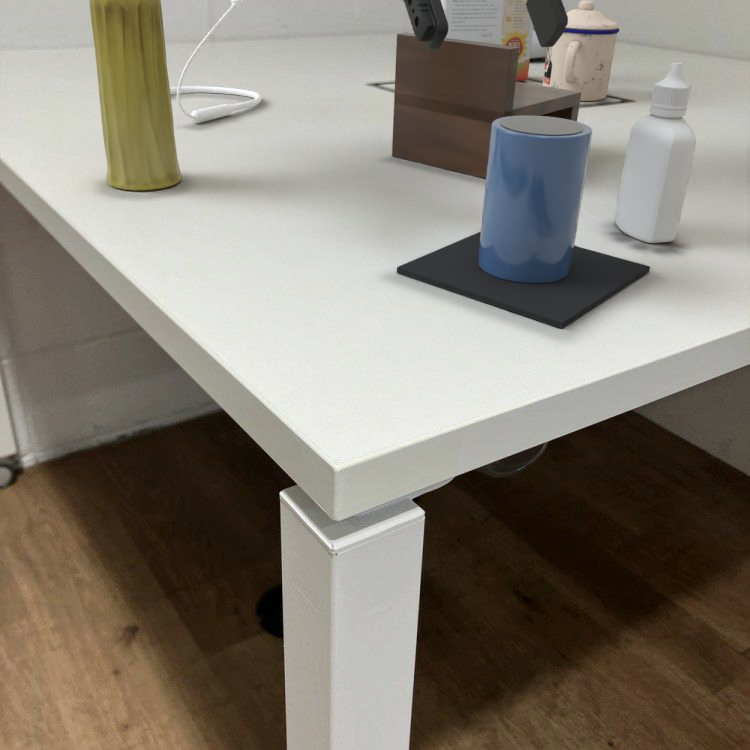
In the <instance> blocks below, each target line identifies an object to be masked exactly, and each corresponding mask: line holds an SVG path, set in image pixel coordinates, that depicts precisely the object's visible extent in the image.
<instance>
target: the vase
mask: <svg viewBox="0 0 750 750" xmlns="http://www.w3.org/2000/svg"><path fill="white" fill-rule="evenodd" d="M89 12H90V22H91V29H92V36H93V45H94V54H95V63H96V74H97V85H98V94H99V95H98V96H99V105H100V116H101V117H100V119H101V125H102V126H101V128H102V136H103V143H104V144H103V145H104V150H105V159H106V165H107V170H106V171H107V172H106V182H107V184H108V185H109V186H111V187H113V188H116V189H119V190H124V191H138V192H139V191H140V192H141V191H144V192H145V191H157V190H161V189H165V188H166V189H167V188H170V187H173V186H175V185H177V184H178V183H180V181H181V179H182V173H181V172H182V171H181V169H180V165H179V160H178V153H177V146H176V145H177V144H176V137H175V127H174V126H175V125H174V116H173V115H174V114H173V113H174V112H173V104H172V98H171V94H170V87H171V86H170V81H169V72H168V65H167V50H166V39H165V29H164V28H165V27H164V21H163V20H164V17H163V9H162V0H89Z"/></svg>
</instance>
